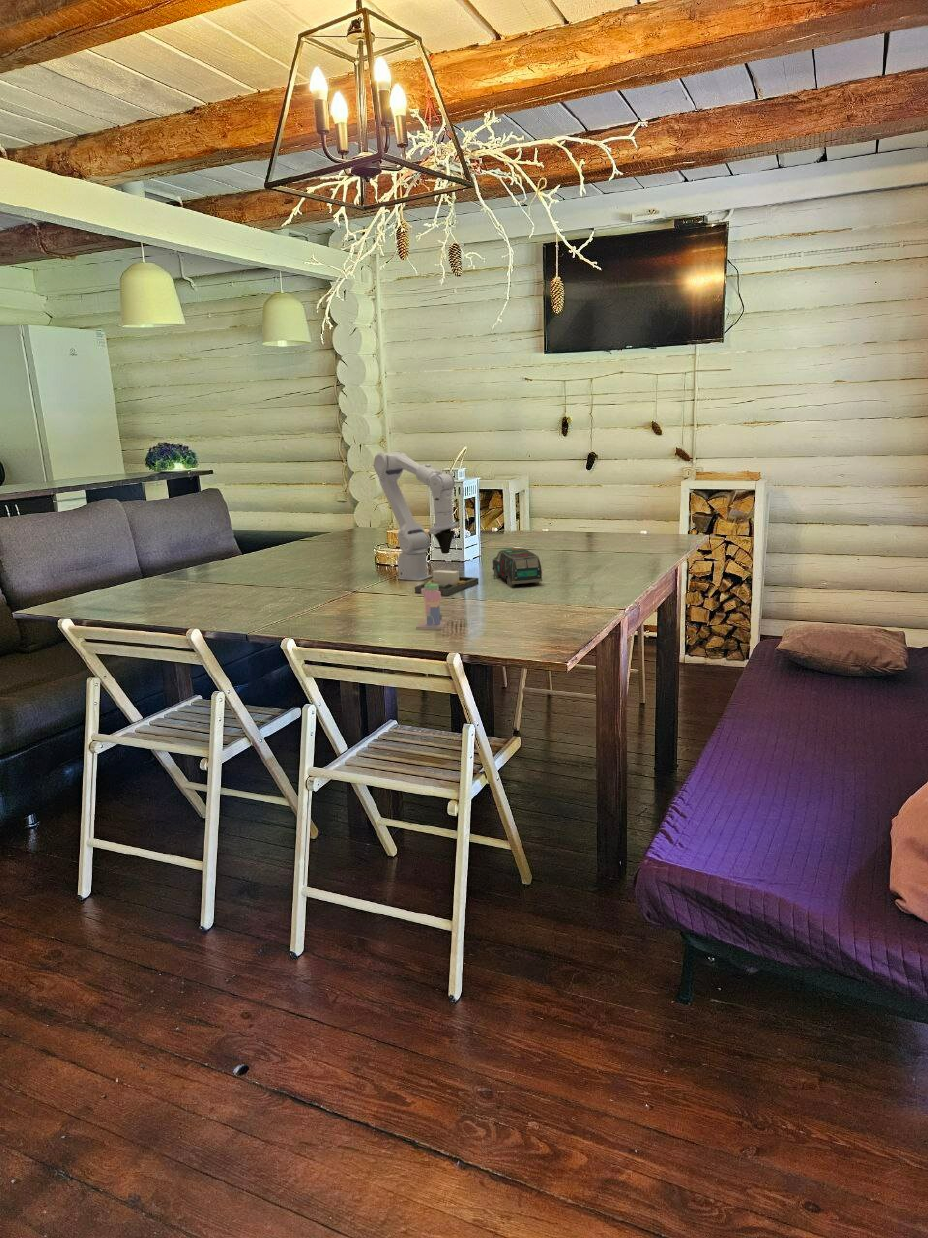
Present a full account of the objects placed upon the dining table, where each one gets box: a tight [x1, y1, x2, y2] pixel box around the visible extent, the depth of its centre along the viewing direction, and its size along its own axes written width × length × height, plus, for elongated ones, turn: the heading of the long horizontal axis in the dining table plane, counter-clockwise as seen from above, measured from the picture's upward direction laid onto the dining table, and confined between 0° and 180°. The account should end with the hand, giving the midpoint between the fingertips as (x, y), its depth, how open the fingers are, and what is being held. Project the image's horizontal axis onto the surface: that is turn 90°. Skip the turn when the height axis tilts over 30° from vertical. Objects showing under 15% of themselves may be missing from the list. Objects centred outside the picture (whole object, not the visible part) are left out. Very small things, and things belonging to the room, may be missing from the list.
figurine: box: [415, 580, 448, 631], centre depth 222 cm, size 7×6×12 cm
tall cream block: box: [432, 569, 460, 585], centre depth 269 cm, size 8×3×5 cm, turn 59°
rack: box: [414, 576, 480, 597], centre depth 269 cm, size 12×19×3 cm, turn 149°
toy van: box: [491, 548, 543, 587], centre depth 277 cm, size 11×25×10 cm, turn 13°
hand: (445, 553), depth 276 cm, fingers closed
